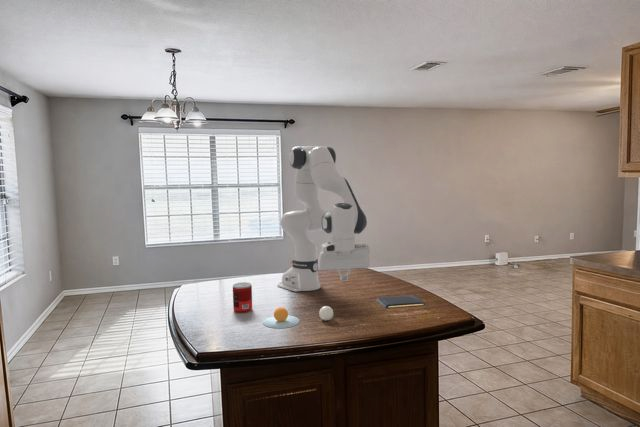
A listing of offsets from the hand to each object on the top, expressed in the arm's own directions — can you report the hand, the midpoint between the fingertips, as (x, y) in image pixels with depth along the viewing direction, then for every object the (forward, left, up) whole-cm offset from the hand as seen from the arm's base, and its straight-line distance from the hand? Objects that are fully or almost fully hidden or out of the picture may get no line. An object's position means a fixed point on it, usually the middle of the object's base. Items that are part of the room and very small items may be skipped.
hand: (344, 279), depth 166 cm
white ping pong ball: (-4, -7, -12) cm, 15 cm away
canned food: (-41, -16, -15) cm, 46 cm away
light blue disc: (-18, -18, -15) cm, 29 cm away
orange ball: (-18, -17, -12) cm, 28 cm away
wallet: (+10, +30, -16) cm, 36 cm away
